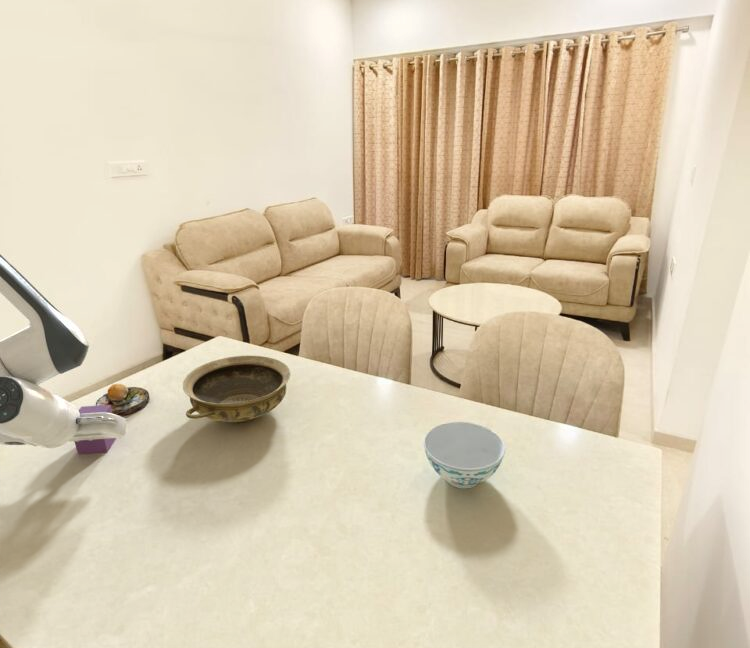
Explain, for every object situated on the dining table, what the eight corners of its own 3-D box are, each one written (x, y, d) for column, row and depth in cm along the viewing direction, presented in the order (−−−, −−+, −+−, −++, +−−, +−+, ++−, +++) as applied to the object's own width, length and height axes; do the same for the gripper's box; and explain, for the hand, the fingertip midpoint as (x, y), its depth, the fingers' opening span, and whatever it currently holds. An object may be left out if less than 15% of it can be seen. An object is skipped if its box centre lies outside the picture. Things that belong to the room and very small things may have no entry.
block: (107, 452, 106) (99, 419, 103) (77, 454, 105) (68, 421, 102) (117, 435, 111) (110, 404, 108) (89, 437, 111) (81, 406, 108)
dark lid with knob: (159, 397, 127) (154, 370, 124) (123, 421, 117) (117, 393, 114) (123, 389, 131) (117, 364, 128) (85, 412, 121) (77, 385, 118)
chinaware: (411, 490, 93) (412, 456, 90) (437, 446, 106) (438, 415, 103) (491, 514, 87) (495, 477, 84) (508, 464, 100) (512, 431, 97)
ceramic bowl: (233, 463, 101) (227, 421, 98) (155, 431, 113) (147, 392, 109) (320, 398, 126) (318, 362, 122) (249, 376, 137) (245, 343, 133)
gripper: (112, 400, 93) (139, 418, 105) (-6, 409, 91) (36, 425, 103) (108, 434, 90) (136, 448, 103) (-13, 444, 88) (31, 456, 101)
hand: (85, 437), depth 103 cm, fingers closed, pressing on block
